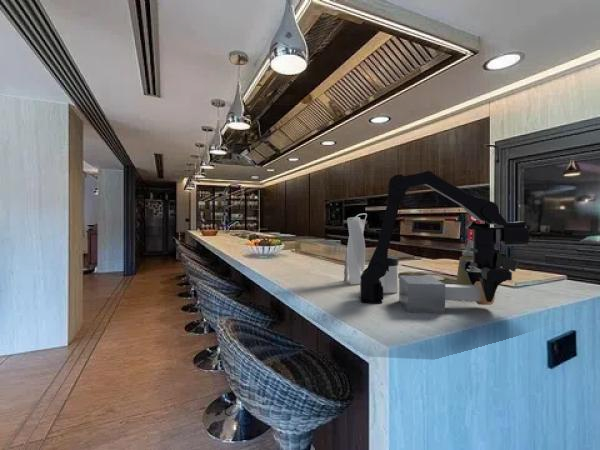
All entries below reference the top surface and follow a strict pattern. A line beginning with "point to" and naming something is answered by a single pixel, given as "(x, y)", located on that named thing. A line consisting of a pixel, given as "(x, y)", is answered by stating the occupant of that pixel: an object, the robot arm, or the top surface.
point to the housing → (422, 294)
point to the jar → (391, 277)
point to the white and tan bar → (467, 293)
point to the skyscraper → (355, 251)
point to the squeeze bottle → (461, 275)
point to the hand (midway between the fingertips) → (483, 298)
